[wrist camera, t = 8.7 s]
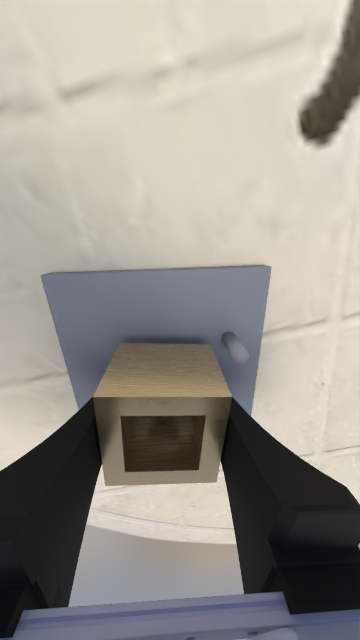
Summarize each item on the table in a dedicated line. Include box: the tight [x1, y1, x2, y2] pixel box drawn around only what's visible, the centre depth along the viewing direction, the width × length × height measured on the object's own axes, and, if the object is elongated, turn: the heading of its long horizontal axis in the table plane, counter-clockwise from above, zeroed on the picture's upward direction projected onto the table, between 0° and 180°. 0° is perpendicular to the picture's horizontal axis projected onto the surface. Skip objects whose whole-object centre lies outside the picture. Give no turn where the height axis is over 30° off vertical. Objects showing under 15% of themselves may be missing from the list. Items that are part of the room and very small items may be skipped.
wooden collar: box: [93, 343, 232, 486], centre depth 11 cm, size 6×7×4 cm
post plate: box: [41, 265, 271, 417], centre depth 13 cm, size 14×14×4 cm
